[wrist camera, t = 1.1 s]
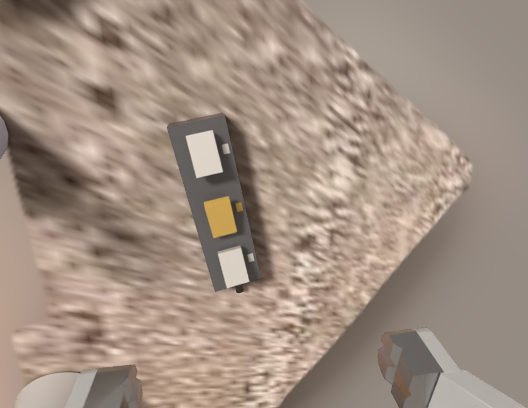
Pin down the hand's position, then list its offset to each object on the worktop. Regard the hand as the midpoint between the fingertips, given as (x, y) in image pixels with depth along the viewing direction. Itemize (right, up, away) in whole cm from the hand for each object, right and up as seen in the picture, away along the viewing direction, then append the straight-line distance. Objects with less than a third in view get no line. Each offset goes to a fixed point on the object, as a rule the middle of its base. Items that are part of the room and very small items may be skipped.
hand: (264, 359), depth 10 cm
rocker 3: (-4, -3, +34) cm, 35 cm away
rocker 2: (-6, +4, +31) cm, 32 cm away
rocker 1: (-7, +11, +28) cm, 31 cm away
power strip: (-7, +4, +36) cm, 37 cm away
